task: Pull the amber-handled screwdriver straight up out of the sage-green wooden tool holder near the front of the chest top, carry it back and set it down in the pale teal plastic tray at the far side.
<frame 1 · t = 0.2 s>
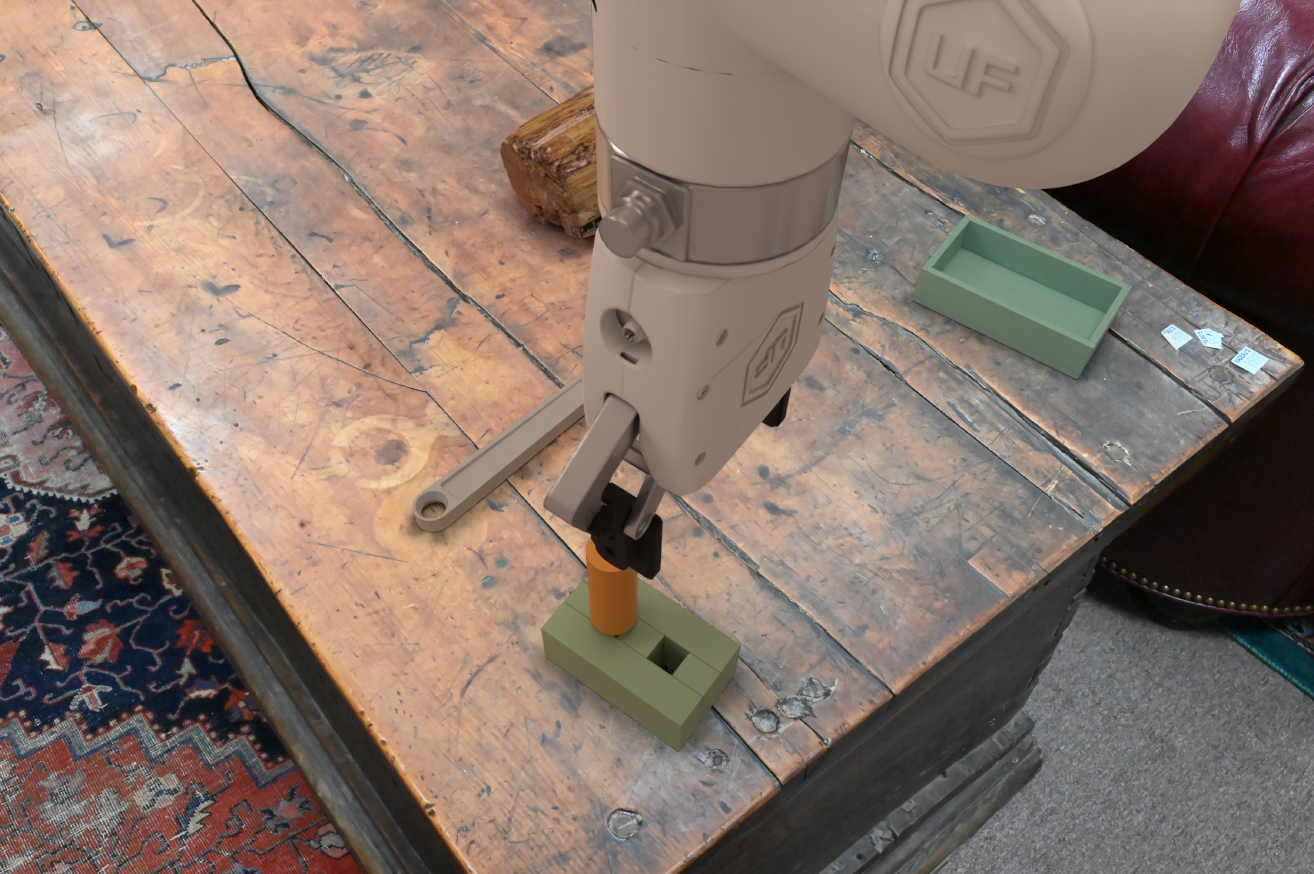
hand: (692, 479, 44), 22 cm above the table, tool pointing down, fingers open, 9 cm apart
screwdriver: (614, 647, 64), resting in holder
adjustable wrench: (551, 417, 75), on the table
petrified wood: (618, 186, 91), on the table
tray: (1012, 309, 82), on the table
holder: (640, 664, 63), on the table
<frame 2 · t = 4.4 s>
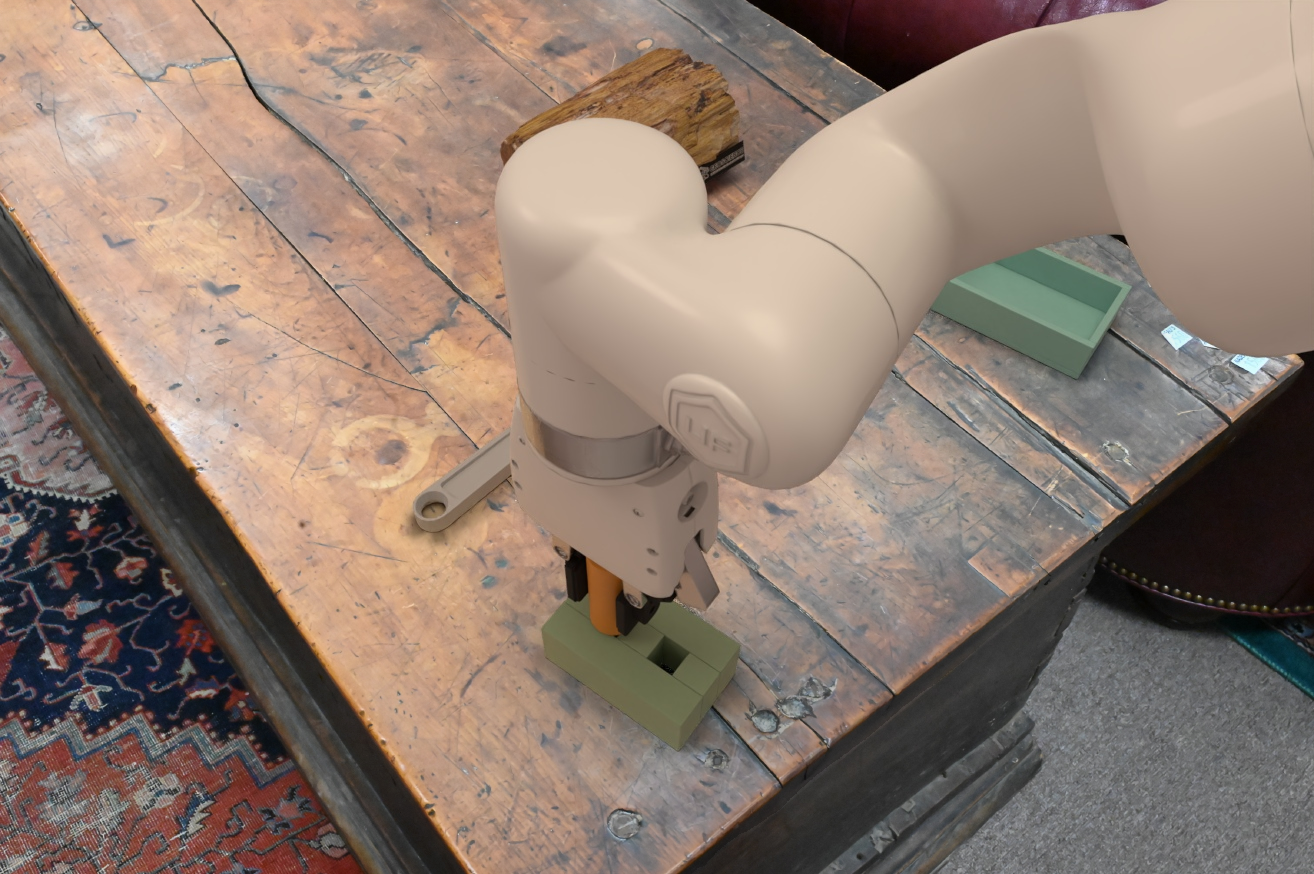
hand: (613, 597, 58), 7 cm above the table, tool pointing down, fingers closed on screwdriver, 2 cm apart
screwdriver: (614, 647, 64), resting in holder, touching gripper
everything else where it was.
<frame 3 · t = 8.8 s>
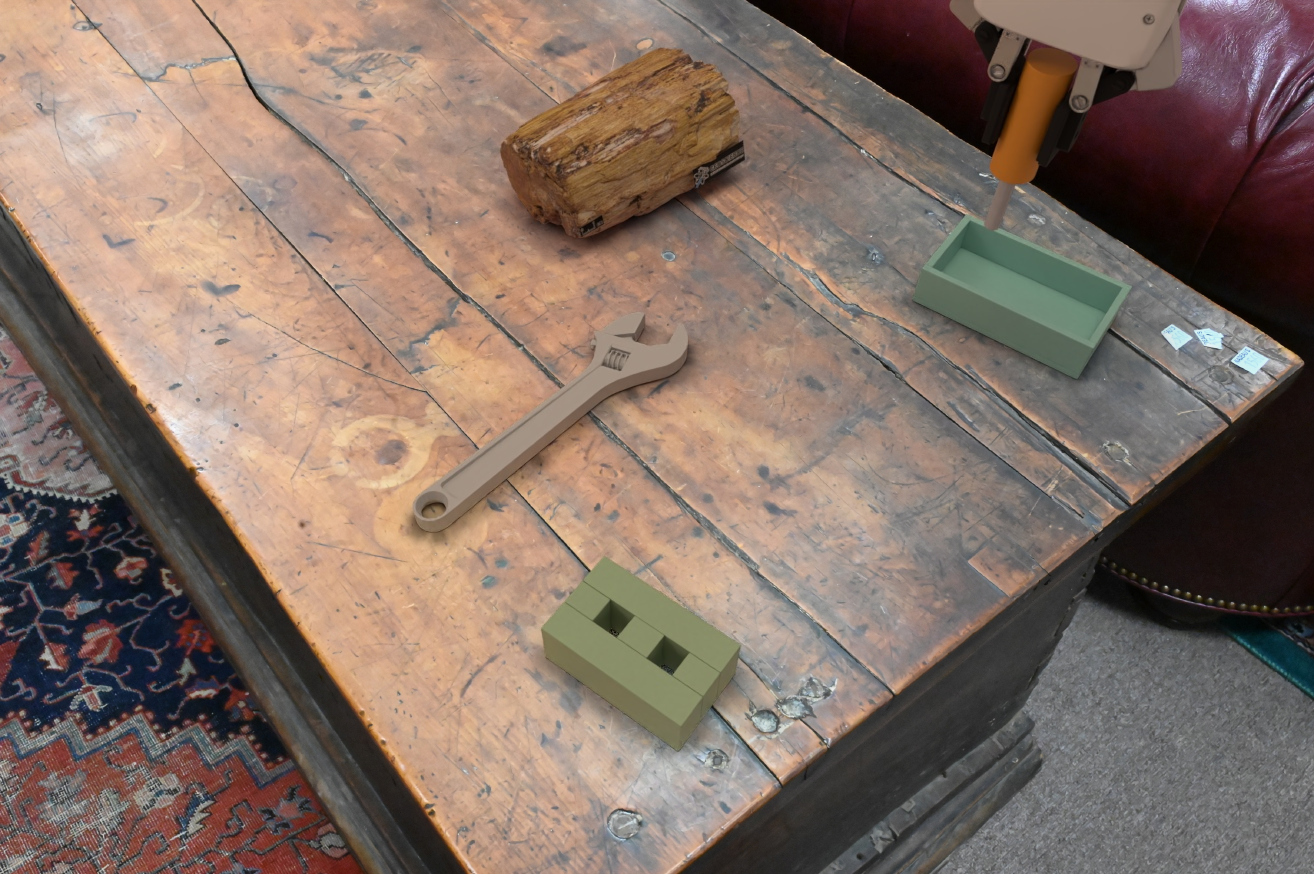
hand: (1023, 141, 61), 21 cm above the table, tool pointing down, fingers closed on screwdriver, 2 cm apart
screwdriver: (991, 226, 66), point 15 cm above the table, touching gripper
everything else where it was.
when the fingers open (7 cm above the table, at t = 13.1 s): screwdriver stays where it is, resting on tray.
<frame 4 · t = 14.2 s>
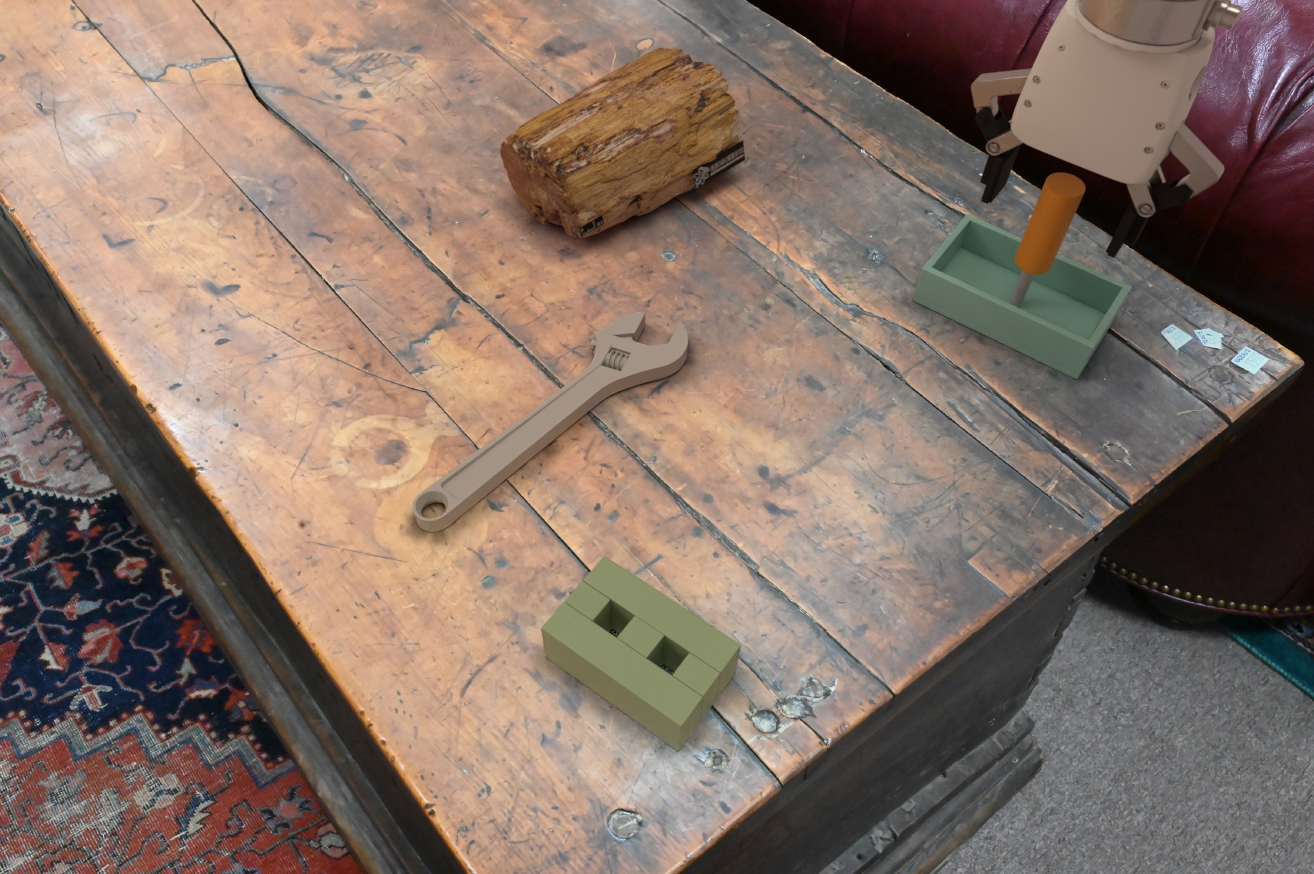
hand: (1053, 219, 75), 10 cm above the table, tool pointing down, fingers open, 9 cm apart
screwdriver: (1014, 303, 82), point 1 cm above the table, touching tray
everything else where it was.
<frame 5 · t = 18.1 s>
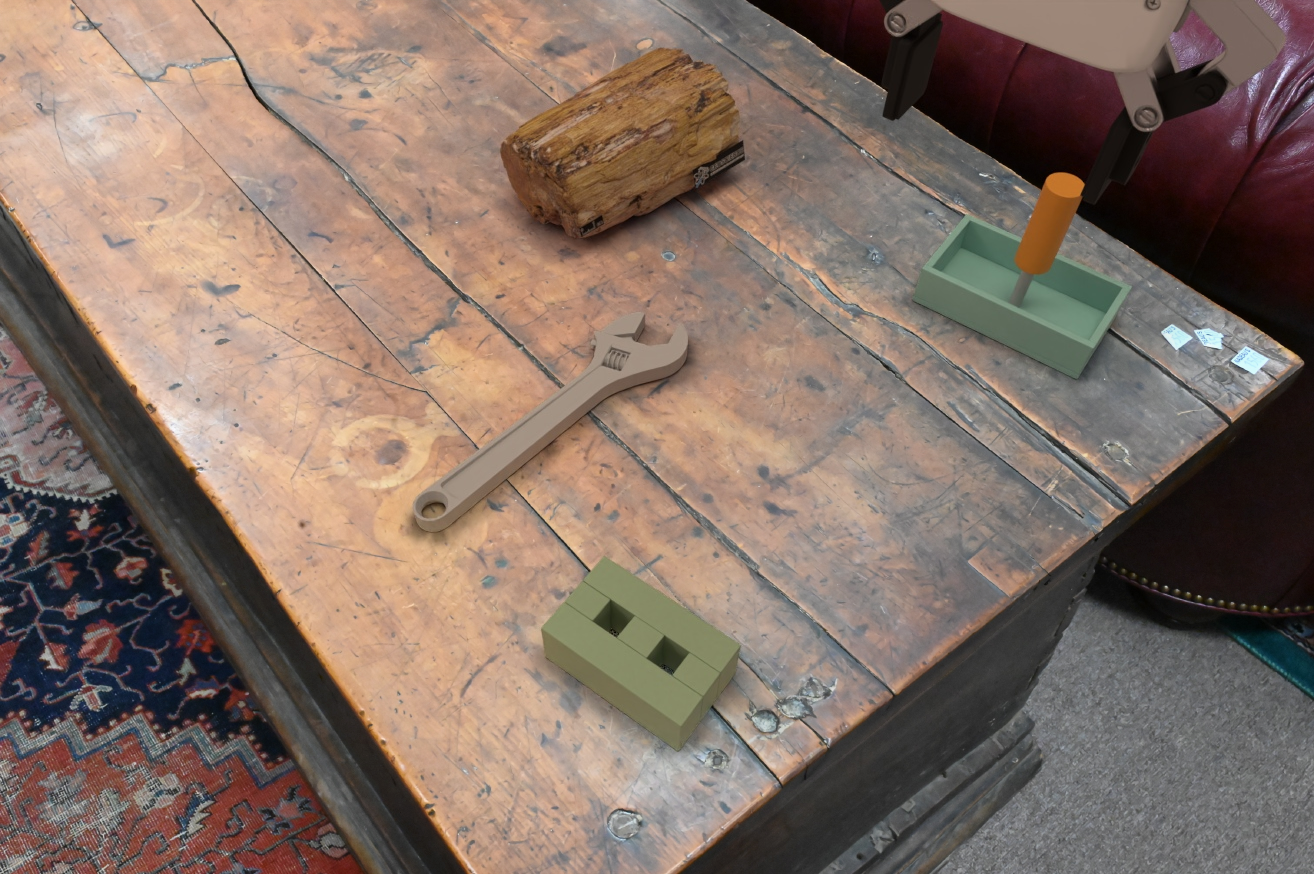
hand: (997, 144, 46), 30 cm above the table, tool pointing down, fingers open, 9 cm apart
nothing on the table moved.
at the end: screwdriver inside the target area in the tray (0.1 cm from its centre), point 0.6 cm above the tray's base; screwdriver touching tray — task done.
